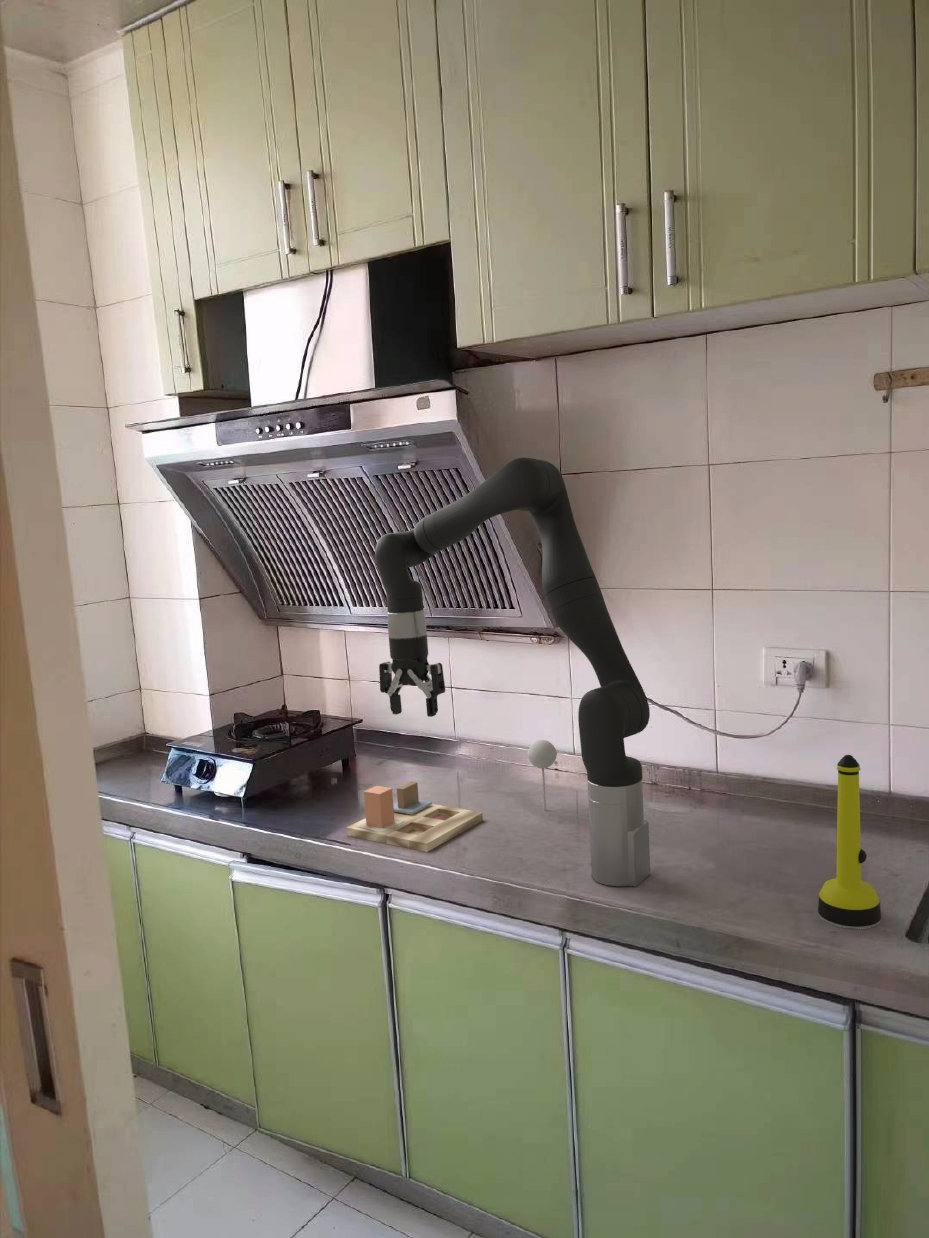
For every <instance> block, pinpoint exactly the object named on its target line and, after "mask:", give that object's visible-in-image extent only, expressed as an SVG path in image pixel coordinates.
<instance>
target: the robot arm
mask: <svg viewBox="0 0 929 1238" xmlns="http://www.w3.org/2000/svg"><path fill="white" fill-rule="evenodd" d="M512 511H522V512H529V514H530V517H531V518H532V521H533V523H534V525H535V527H536V530H537V532H538V535H539V538H540V541H541V548H542V559H541V560H542V562H541V582H542V588H543V593H544V595H545V598H546V601H547V603H548V606H549V609H550V612H551V615H552V617H553V619H554V621H555V623H556V625H557V627H558V628H559V629H560V631H561V632H563V634H564V635H565V636H566V637H567V638H568V639H569V640H570V641H571V642H572V643H573V645H574V646H576V647H577V648H578V650H579V651H581V653H582V654H583V655H584V656H585V657H586V658H587V660H588V662H589V663H590V664H591V666H592V668H593V670H594V672H595V675H596V678H597V680H598V682H599V685H600V687H596V688H594V689H591V690H589V691H587V692H585V693H584V694H583V696H582V698H581V699H580V703H579V704H578V705H579V706H578V712H577V713H578V714H577V716H578V717H577V719H578V731H579V732H578V733H579V740H580V741H579V742H580V752H581V753H580V755H581V760H582V762H583V766H584V767H585V770H586V774H587V775H586V776H587V777H586V778H587V781H586V782H587V801H588V802H587V803H588V804H587V805H588V826H589V847H590V849H589V851H590V853H589V854H590V869H591V871H590V872H591V878H592V879H593V880H594V881H595V882H597V883H599V884H602V885H604V886H605V885H606V886H612V887H627V886H629V887H637V886H638V885H639V884H641V883H642V882H643V881H644V880H645V879H647V877H648V876H650V875H651V859H650V858H651V857H650V856H651V855H650V854H651V853H650V824H649V821H648V820H645V819H644V817H645V815H644V790H643V788H644V787H643V783H644V782H643V767H642V763H641V762H640V761H639V760H638V759H637V758H635V757H632V756H629V755H627V753H626V749H625V748H626V747H625V740H624V739H625V738H628V737H631V736H635V735H638V734H640V733H641V732H643V731H644V730H645V729H646V728H647V726H648V724H649V721H650V718H651V717H650V715H651V714H650V712H651V711H650V705H649V702H648V698H647V696H646V692H645V691H644V689H643V685H642V684H641V682H640V680H639V678H638V676H637V674H636V671H635V670H634V668H633V666H632V664H631V662H630V660H629V658H628V656H627V654H626V651H625V649H624V647H623V645H622V642H621V640H620V638H619V635H618V632H617V630H616V628H615V625H614V623H613V620H612V618H611V616H610V613H609V611H608V608H607V604H606V601H605V597H604V595H603V592H602V591H601V588H600V585H599V582H598V579H597V577H596V574H595V572H594V570H593V567H592V564H591V563H590V559H589V558H588V554H587V552H586V549H585V546H584V543H583V540H582V537H581V535H580V533H579V531H578V528H577V525H576V522H575V518H574V515H573V511H572V507H571V503H570V499H569V495H568V491H567V487H566V484H565V480H564V478H563V475H562V474H561V472H560V470H559V469H558V468H557V466H555V465H554V464H553V463H551V462H549V461H546V460H543V459H537V458H532V457H518V458H515V459H513V460H511V461H509V462H508V463H506V464H504V465H503V466H502V467H500V469H498V470H496V471H495V472H494V473H493V474H491V476H489V477H488V478H487V479H486V480H485V481H483V482H482V483H480V484H479V485H477V486H476V487H475V488H473V489H472V490H471V491H469V492H468V493H466V494H465V495H463V496H462V497H460V498H458V499H457V500H455V501H453V502H452V503H449V504H447V505H445V506H444V507H441V508H440V509H438V510H436V511H434V512H432V513H430V514H428V515H426V516H425V517H423V518H421V519H420V520H418V522H416V524H415V526H414V528H412V529H409V530H406V531H401V532H390V533H389V532H387V533H385V534H383V535H382V536H381V537H380V538H379V539H378V540H377V542H376V544H375V545H376V546H375V548H374V549H375V552H374V558H375V563H376V566H377V569H378V573H379V576H380V579H381V582H382V584H383V587H384V589H385V592H386V606H387V632H388V645H389V656H390V657H389V658H390V659H391V660H392V662H391V661H385V662H382V663H379V665H378V666H379V668H378V669H379V670H378V672H379V691H380V693H382V694H383V693H385V694H386V695H388V697H389V706H390V707H389V708H390V710H391V712H392V713H391V714H393V715H399V714H401V713H402V711H403V709H402V708H403V707H402V699H401V696H402V695H401V694H399V693H400V692H401V690H402V688H403V687H404V686H412V687H416V686H417V687H418V689H419V690H421V691H422V692H423V694H424V695H425V697H426V698H425V705H426V715H427V717H435V716H436V715H437V713H438V711H439V708H438V707H439V706H438V696H439V695H442V694H445V692H446V685H445V684H446V683H445V675H444V669H443V664H442V663H441V662H437V663H434V664H433V663H432V664H429V661H428V656H429V645H428V634H427V621H426V615H425V610H424V597H423V591H422V585H421V583H420V582H419V581H417V580H413V579H411V577H410V575H409V571H408V568H413V567H416V566H418V565H420V564H423V563H424V562H426V561H429V559H431V558H432V557H433V556H435V555H436V554H437V553H438V552H442V551H443V550H445V549H447V548H449V547H451V546H453V545H456V544H457V543H459V542H461V541H463V540H464V539H467V538H468V537H469V536H471V534H472V533H474V532H475V531H476V530H477V529H478V527H480V526H481V525H482V524H483V523H484V522H487V520H490V519H491V518H494V517H497V516H499V515H502V514H505V513H508V512H512ZM393 674H394V677H393V676H392V675H393ZM430 676H431V677H430ZM392 677H393V678H392Z"/></svg>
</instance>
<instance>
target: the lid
mask: <svg viewBox="0 0 929 1238" xmlns="http://www.w3.org/2000/svg"><path fill="white" fill-rule="evenodd" d="M396 797H397V801H396V802H393V806H394V812H400V813H405V814H411V815H412V814H414V813H416V812H418V811H420V810H422V809H424V808H426V807H428V806H430V805H432V804H433V802H432V801H429V800H428V801H427V800H423V799H419V785H418V782H417V781H410V782H407V783H405V784H403V785H401V786H399V787H397V788H396Z"/></svg>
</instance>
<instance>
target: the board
mask: <svg viewBox="0 0 929 1238" xmlns="http://www.w3.org/2000/svg"><path fill="white" fill-rule="evenodd" d="M483 816H484V815H483V812H482V811H478V810H477V811H476V810H470V809H464V808H460V807H459V808H458V807H453V806H446V805H440V804H435V803H432V805H430V806H428V807H426V808H424V809H422V810H420V811H418V812H416V813H414V814H412V815H411V814H405V813H400V812H394V820H395V822H394V823H392V824H390V825H388V826H386V827H384V828H377V827H372V826H367V825H366V817H365V818H363V819H361V820H359V821H357V822H355V823H352V824H350V825H348V826H346V827H345V829H346V836H348V837H353V838H358V839H362V840H366V841H367V840H368V841H373V842H377V843H382V844H386V845H392V846H395V847H396V846H397V847H401V848H405V849H410V850H416V851H420V852H425V853H428V852H430V851H432V850H434V849H435V848H437V847H438V846H440V845H442V844H444V843H446V842H448V841H449V840H451V839H452V838H455V837H456V836H458V835H459V834H461V833H463V832H465V831H466V830H468V829H470V828H472V827H473V826H475V825H478V824H479V823H480V822H482V821H483V820H484V817H483Z"/></svg>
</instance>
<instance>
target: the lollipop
mask: <svg viewBox="0 0 929 1238" xmlns="http://www.w3.org/2000/svg"><path fill="white" fill-rule="evenodd" d="M557 755H558V751H557V749H556V747H555V745H554V744H553V743H552V742H551V741H548V740H545V739H538V740H535V741H534V742H533V743H531V744H530V746H529V747H528V750H527V757H528V761H530V763H531V765H533V767H536V768H537V769H541V778H542V779H541V780H542V797H543V798H542V799H543V801H542V803H543V811H547V801H546V785H545V784H546V783H545V782H546V781H545V780H546V779H545V769H547V768H550V767H551V766H552V765H553V764H554V763H555V761H556V759H557Z"/></svg>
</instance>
